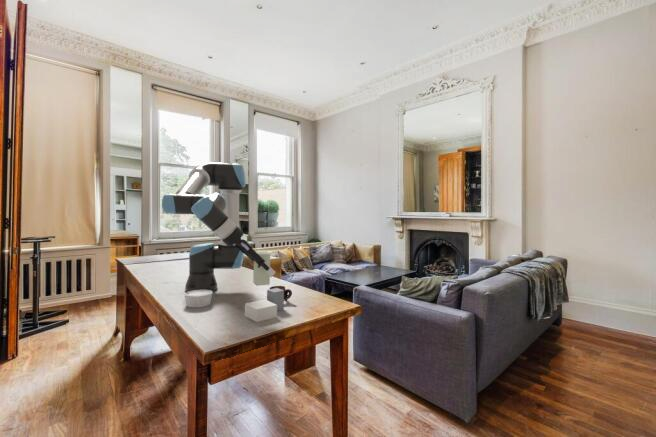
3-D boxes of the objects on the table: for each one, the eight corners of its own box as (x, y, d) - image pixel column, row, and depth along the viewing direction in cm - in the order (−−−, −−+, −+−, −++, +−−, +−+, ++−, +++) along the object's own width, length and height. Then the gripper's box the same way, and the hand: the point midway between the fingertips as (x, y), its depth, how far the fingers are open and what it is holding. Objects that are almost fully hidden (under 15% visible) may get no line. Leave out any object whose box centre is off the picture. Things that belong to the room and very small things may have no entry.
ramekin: (185, 301, 134) (186, 290, 133) (212, 299, 137) (212, 288, 137) (182, 310, 123) (183, 297, 123) (212, 307, 127) (212, 295, 127)
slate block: (266, 308, 127) (267, 289, 127) (276, 306, 131) (277, 287, 131) (273, 311, 124) (273, 292, 124) (283, 309, 127) (283, 290, 127)
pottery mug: (264, 305, 133) (264, 286, 137) (273, 308, 141) (273, 291, 145) (289, 300, 131) (288, 282, 134) (297, 304, 139) (296, 287, 143)
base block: (244, 316, 118) (245, 303, 118) (264, 311, 125) (265, 299, 124) (256, 322, 112) (256, 309, 112) (276, 317, 118) (277, 304, 118)
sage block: (253, 282, 119) (253, 252, 118) (265, 281, 121) (266, 252, 121) (256, 285, 114) (257, 254, 114) (269, 284, 117) (270, 253, 116)
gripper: (217, 237, 118) (257, 275, 126) (226, 242, 102) (271, 285, 110) (231, 224, 120) (270, 262, 129) (242, 226, 104) (285, 270, 113)
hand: (270, 273), depth 119 cm, fingers closed on sage block, 5 cm apart
